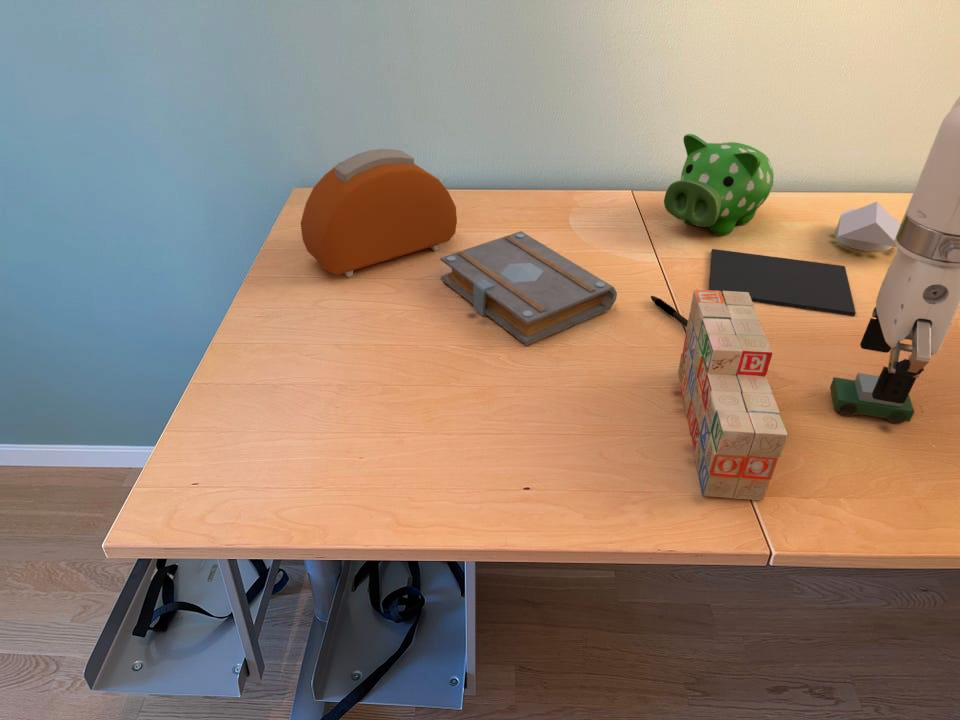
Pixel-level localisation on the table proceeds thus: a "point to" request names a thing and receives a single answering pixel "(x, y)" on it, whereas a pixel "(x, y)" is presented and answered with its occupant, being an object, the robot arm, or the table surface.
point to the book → (527, 286)
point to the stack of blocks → (730, 396)
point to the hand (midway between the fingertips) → (880, 373)
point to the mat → (783, 281)
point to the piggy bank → (719, 185)
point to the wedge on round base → (867, 228)
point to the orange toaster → (375, 212)
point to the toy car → (867, 400)
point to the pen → (669, 310)
